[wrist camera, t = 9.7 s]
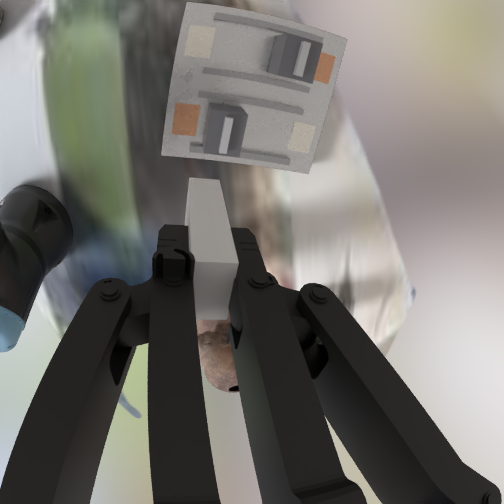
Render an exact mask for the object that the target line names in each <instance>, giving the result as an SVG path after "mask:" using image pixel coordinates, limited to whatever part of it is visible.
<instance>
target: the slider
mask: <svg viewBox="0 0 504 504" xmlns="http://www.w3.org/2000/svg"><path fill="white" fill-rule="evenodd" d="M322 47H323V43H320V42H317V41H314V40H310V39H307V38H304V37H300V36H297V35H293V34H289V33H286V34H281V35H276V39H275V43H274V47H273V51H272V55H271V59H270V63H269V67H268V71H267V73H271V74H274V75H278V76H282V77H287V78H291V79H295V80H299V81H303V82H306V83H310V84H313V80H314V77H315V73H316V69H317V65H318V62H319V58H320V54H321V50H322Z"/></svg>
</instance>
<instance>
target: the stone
mask: <svg viewBox="0 0 504 504" xmlns="http://www.w3.org/2000/svg"><path fill="white" fill-rule="evenodd" d="M2 18H3V9H2V7H1V6H0V25H1V22H2Z"/></svg>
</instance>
